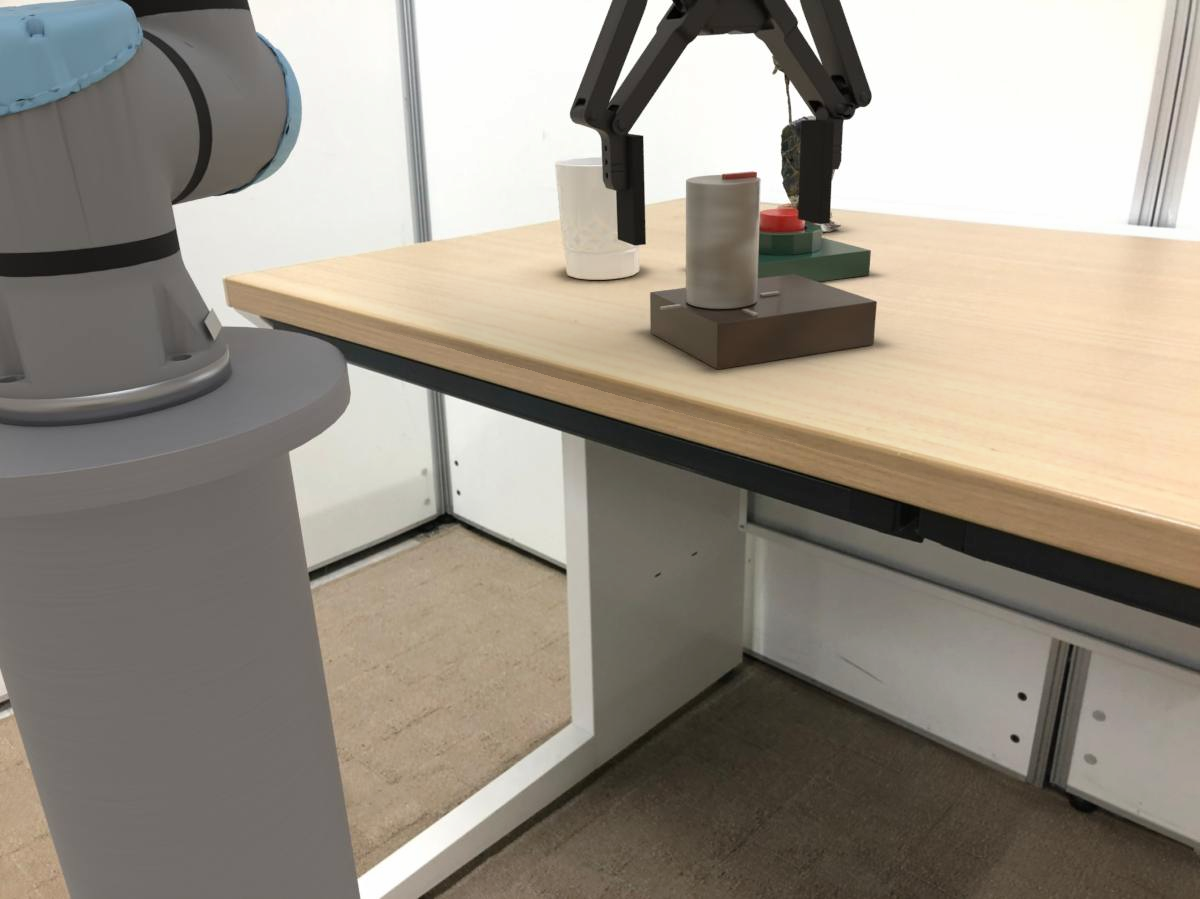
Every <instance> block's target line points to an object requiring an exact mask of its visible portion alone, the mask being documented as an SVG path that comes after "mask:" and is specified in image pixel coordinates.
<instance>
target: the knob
mask: <svg viewBox="0 0 1200 899" xmlns="http://www.w3.org/2000/svg"><path fill="white" fill-rule="evenodd" d="M761 184H762V180H761V178H760V177H759V176H758V172H757V171H742V172H741V171H740V172H730V173H729V172H728V173H722V174H712V175H699V176H693V177H689V178H687V179H686V180H685V288H686V302H687V303H688V304H690V305H692V306H696V307H700V308H708V309H734V308H742V307H747V306H750V305H753V304H755V303H756V302H757V289H758V255H759V222H760V211H761V188H762V186H761Z"/></svg>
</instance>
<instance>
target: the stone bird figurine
mask: <svg viewBox="0 0 1200 899" xmlns="http://www.w3.org/2000/svg"><path fill="white" fill-rule="evenodd" d="M771 59H772V63H773V65H774V68H773V70H772V73H771V74H772V75H774V76H775V75H776V74H777V72H778V71H779V72H781V73H783V75H784V77H783V78H784V84H785V92H786V93H785V94H786V97H787V106H788V107H787V110H788V111H787V112H788V124H787V125H785V126H784V127H783V128H782V130H781V134H780V139H781V141H780V154H781V155H780V156H781V171H780V175H781V177H782V181H781V182H782V183H781V184H782V188H783V189H784V192H785V194H786V196H787V198H788V200H789V202H790V203H789V202H788V203H783V204H781V205H777V207H776V209H798V202H799V172H800V143H801V120H816V117H815V116H814V115H808V116H805V115H804V116H801V118H798V119H795V120H793V119H792V104H791V102H792V101H791V97H790V96H791V95H790V83H791V81H790V80H789V78H788V77H787V75H786V74H785V72H784V71H783V69H782V68H781V67H780V65H779V64H778V62H777V61H776V59H775V58H774V56H773V55H772V56H771ZM835 171H836V169H835V170H832V180H833V179H834V176H835ZM833 216H834V215H833V211H832V210H830V223H826V224H817V223H813V222H809V221H805V222H806V223H812V224H816V225H820V226H821V228H822V234H823V233H825V232H832V231H835V230H838V228H840V227H841V226H842V225H841V224H839V223H836V222H835V221H832V218H833Z"/></svg>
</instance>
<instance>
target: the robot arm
mask: <svg viewBox="0 0 1200 899" xmlns="http://www.w3.org/2000/svg"><path fill="white" fill-rule="evenodd" d="M671 2H672V3H671V5H670V6H669V8H668V9H667V11H666V13H664V15H663V17H662V18H661V19H660V22H659V23H658V24H657V26H656V29H655V30H656V32H655V34H654V35H653V36H652V38H651V39H650V41H649V42H648V44H647V45H646V47H645V49H644V50H643V51H642V53H641V54H640V56H639V57H638V59H637V60H636V62H635V63H634V65H633V66H632V68H631V69H630V70H629V72H628V74H627V75H626V77H625V79H624V80H623V81H622V83H621V84H620V86H619V87H618V89H617V90H616V91H615V88H616V86H617V84H618V81H619V78H620V76H621V73H622V71H623V68H624V65H625V64H626V63H625V62H626V60H627V57H628V55H629V53H630V50H631V48H632V45H633V43H634V42H633V41H634V40H635V37H636V35H637V32H638V30H639V27H640V24H641V22H642V19H643V17H644V14H645V11H646V8H647V5H648V0H611V3H610V5H609V8H608V11H607V13H606V16H605V19H604V20H603V24H602V25H601V26H602V27H601V28H600V31H599V34H598V37H597V39H596V42H595V44H594V47H593V50H592V53H591V55H590V57H589V60H588V62H587V64H586V65H587V66H586V68H585V71H584V73H583V76H582V78H581V81H580V84H579V87H578V89H577V91H576V94H575V98H574V99H573V102H572V105H571V107H570V110H569V118H570V120H571V122H572V123H574V124H576V125H579V126H583V127H586V128H589V129H592V130H594V131H596V132H597V133H598V135H599V137H600V142H601V144H600V145H601V146H600V147H601V156H602V170H603V171H602V172H603V182H604V184H605V187H606V188H608V189H611V190H616V203H617V233H618V240H621V241H623V242H626V243H629V244H632V245H634V246H637V245H639V246H644V245H647V238H646V237H647V236H646V235H647V233H646V194H645V191H646V189H645V148H644V145H645V144H644V135H642V134H633V133H629V132H631V130H632V128H633V127H634V125H635V124H636V122H637V121H638V119H639V118H640V116H642V113H643V112H644V111H645V109H646V107H647V106H648V105H649V103H650V101H651V100H652V99H653V97H654V96H655V94H656V93H657V91H658V90H659V88H660V87H661V85H662V84H663V82H664V81H665V79H666V78H667V76H669V73H670V72H671V71H672V69H673V67H674V66H675V65H676V63H677V61H678V60H679V59H680V57H681V56H682V54H683V53H684V52H685V50H686V49H687V47H688V45H689V44H691V43H692V42H693V41H695V40H696V39H697V37H700V36H701V37H703V36H704V37H705V36H706V37H707V36H719V35H721V36H722V35H749V34H753V35H754V36H755V37H756V38H757V39H759V40H760V41H762V42H763V43H764V44H765V46H766V48H767V49H768V50H769V52H770V54H771V55H772V56H774V58H775V59H776V61H777V62H778V64H779V65H780V67H781V68H782V69H783V71H784V72H785V74H786V75H787V77H788V78H789V80H790V83H791V84H792V86H793V88H794V89H795V90H796V92H797V93H798V95H799V96H800V98H801V100H803V102H804V104H805V105H806V107H807V108H808V110H809V111H810V112H811V114H812V116H815V117H816V120H801V143H800V172H799V202H798V219H800V220H804V221H809V222H813V223H817V224H826V223H830V220H831V218H830V211H831V203H832V185H833V184H832V183H833V179H832V170H835V171H836V170H839V168H840V166H841V163H842V154H843V153H842V151H843V150H842V149H843V135H844V134H843V133H844V122H845V121H848V120H850V119H852V118H853V117H854V116H855V113H856V110H857V109H859V108H866V107H868V106H869V105H870V103H871V102H872V97H873V95H872V90H871V88H870V85H869V81H868V79H867V76H866V73H865V69H864V67H863V64H862V61H861V58H860V55H859V52H858V49H857V46H856V43H855V41H854V37H853V35H852V32H851V28H850V26H849V23H848V20H847V17H846V14H845V12H844V11H845V10H844V7H843V6H842V2H841V0H799V4H800V7H801V10H802V13H803V17H804V19H805V21H806V24H807V26H808V29H809V32H810V36H811V38H812V40H813V43H814V46H815V49H816V51H817V54H816V53H815V51H814V50H813V48H812V47H811V45H810V44H809V42H808V41H807V39H806V38H805V36H804V35H803V33H802V32H801V30H800V29H799V27H798V24H799V20H798V18H797V16H796V15H795V13H794V12H793V9H791V7H790V5H789V4H788V3H787V1H786V0H671ZM817 55H818V56H817ZM818 57H819V58H818ZM614 91H615V93H614ZM613 94H614V95H613ZM302 102H303V101H302V95H301V89H300V86H299V82H298V79H297V77H296V74H295V72H294V70H293V67H292V65H291V64H290V62H289V60H288V59H287V57H286V56H285V55H284V53H283V52H282V51H281V50H280V49H279V48H276V47H275V46H274V45H273V44H272V43H271V42H270V41H269V39H268V38H266V37H265V36H264V35H263V34H261V33H260V32H258V31H257V29H256V26H255V22H254V18H253V14H252V11H251V8H250V3H249V0H66V1H55V2H40V3H32V4H30V3H29V4H22V5H18V6H16V5H13V6H12V5H11V6H1V7H0V423H3V424H9V425H18V426H41V427H45V426H69V425H81V424H90V423H98V422H105V421H112V420H118V419H124V418H129V417H134V416H139V415H143V414H148V413H152V412H156V411H159V410H163V409H167V408H170V407H174V406H177V405H180V404H183V403H186V402H188V401H191V400H194V399H196V398H199V397H201V396H203V395H205V394H207V393H209V392H211V391H213V390H215V389H216V388H218V387H220V386H221V385H222V384H224V383H225V382H226V381H227V380H228V379H229V378H230V376H231V374H232V366H231V360H230V355H229V349H228V345H227V343H226V342H225V339H224V337H223V335H222V333H221V331H220V329H221V327H222V326H223V325H222V323H221V321H220V319H219V317H218V315H217V314H216V311H215V310H214V308H213V307H211V309H209V308H208V305H207V303H206V302H205V300H204V299H203V296H202V295H201V293H200V291H199V289H198V287H197V285H196V284H195V282H194V280H193V278H192V277H191V274H190V272H189V271H188V269H187V267H186V265H185V262H184V260H183V255H182V251H181V246H180V241H179V235H178V231H177V225H176V224H177V223H176V219H175V213H174V208H173V206H175V205H180V204H184V203H189V202H194V201H198V200H202V199H207V198H211V197H222V196H226V195H231V194H232V195H234V194H237V193H240V192H243V191H245V190H246V189H248V188H249V187H251V186H254V185H256V184H259V183H261V182H263V181H265V180H267V179H269V178H270V177H271V176H273V175H274V174H276V173H277V172H278V171H279V170H280V169H281V168H282V167H283V166H284V164H285V163H286V161H287V160H288V159H289V157H290V155H291V153H292V152H293V150H294V148H295V146H296V144H297V142H298V139H299V136H300V131H301V127H302V119H303V118H302V117H303V105H302V104H303V103H302Z"/></svg>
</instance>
